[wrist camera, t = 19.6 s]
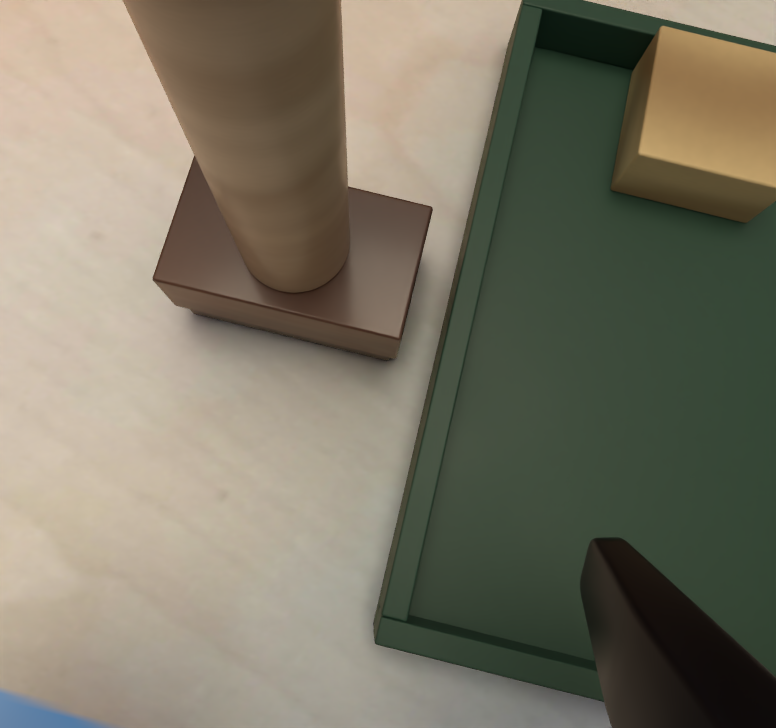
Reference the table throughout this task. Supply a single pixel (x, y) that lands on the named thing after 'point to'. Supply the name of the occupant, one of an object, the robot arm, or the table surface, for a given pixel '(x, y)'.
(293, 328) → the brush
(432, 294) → the table surface
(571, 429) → the tray
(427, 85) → the table surface
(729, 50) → the golden tan square block
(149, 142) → the table surface
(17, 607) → the table surface
